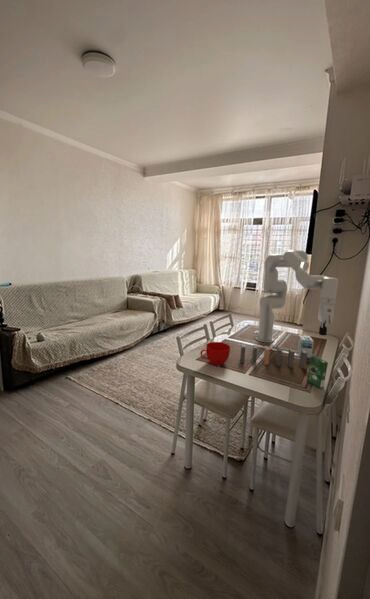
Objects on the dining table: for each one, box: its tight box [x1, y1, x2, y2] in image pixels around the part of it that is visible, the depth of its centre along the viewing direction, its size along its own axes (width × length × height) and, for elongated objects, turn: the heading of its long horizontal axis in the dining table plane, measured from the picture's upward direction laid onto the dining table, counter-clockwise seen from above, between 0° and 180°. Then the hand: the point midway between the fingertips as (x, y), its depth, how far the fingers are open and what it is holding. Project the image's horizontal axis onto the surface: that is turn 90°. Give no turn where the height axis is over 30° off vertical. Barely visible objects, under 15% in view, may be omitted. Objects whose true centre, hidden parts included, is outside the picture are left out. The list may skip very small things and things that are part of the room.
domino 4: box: [274, 346, 283, 367], centre depth 156 cm, size 2×5×9 cm, turn 171°
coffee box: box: [306, 355, 329, 389], centre depth 134 cm, size 8×3×13 cm, turn 22°
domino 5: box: [286, 348, 296, 368], centre depth 155 cm, size 2×5×9 cm, turn 171°
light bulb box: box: [296, 334, 315, 359], centre depth 172 cm, size 11×7×11 cm, turn 168°
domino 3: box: [263, 345, 271, 366], centre depth 157 cm, size 2×5×9 cm, turn 172°
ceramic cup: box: [199, 341, 231, 367], centre depth 153 cm, size 13×17×10 cm
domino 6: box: [298, 350, 308, 370], centre depth 154 cm, size 2×5×9 cm, turn 171°
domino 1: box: [239, 343, 247, 363], centre depth 159 cm, size 2×5×9 cm, turn 171°
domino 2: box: [251, 344, 258, 365], centre depth 158 cm, size 2×5×9 cm, turn 171°
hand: (322, 334), depth 150 cm, fingers closed
